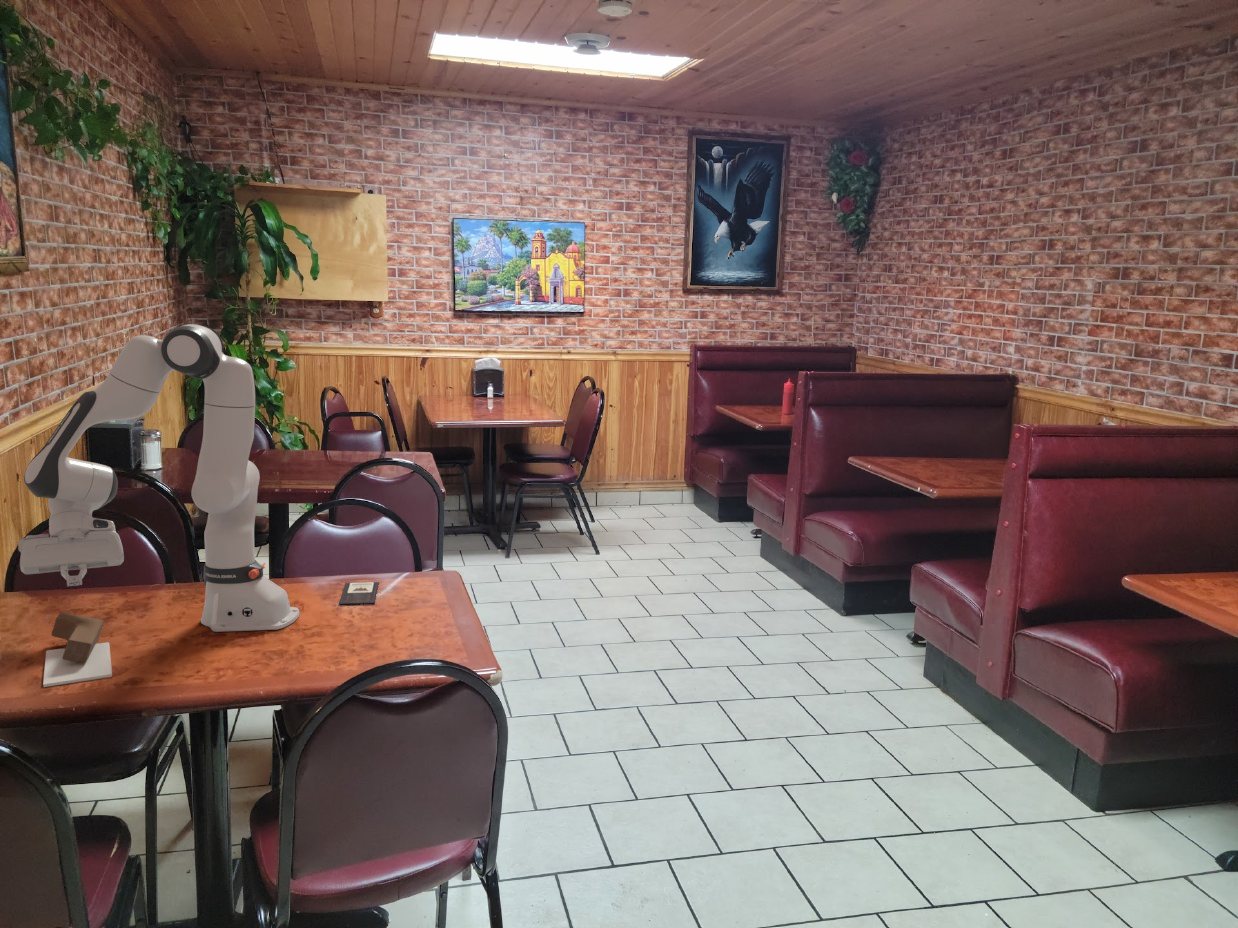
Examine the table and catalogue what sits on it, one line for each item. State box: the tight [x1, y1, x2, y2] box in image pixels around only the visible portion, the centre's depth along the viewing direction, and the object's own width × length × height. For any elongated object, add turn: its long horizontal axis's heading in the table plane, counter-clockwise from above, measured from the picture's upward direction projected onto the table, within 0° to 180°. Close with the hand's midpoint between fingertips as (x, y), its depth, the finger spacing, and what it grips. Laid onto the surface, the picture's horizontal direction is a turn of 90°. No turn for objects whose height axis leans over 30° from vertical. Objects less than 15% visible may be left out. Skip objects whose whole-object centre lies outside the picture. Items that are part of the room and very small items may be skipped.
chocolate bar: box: [338, 581, 380, 606], centre depth 246 cm, size 9×1×18 cm
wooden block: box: [50, 611, 105, 663], centre depth 198 cm, size 9×4×18 cm
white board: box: [42, 641, 113, 688], centre depth 193 cm, size 20×12×1 cm, turn 30°
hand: (74, 584), depth 204 cm, fingers closed
